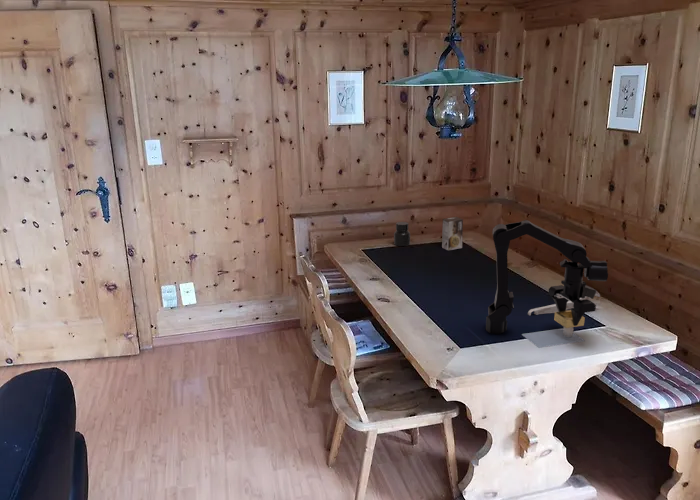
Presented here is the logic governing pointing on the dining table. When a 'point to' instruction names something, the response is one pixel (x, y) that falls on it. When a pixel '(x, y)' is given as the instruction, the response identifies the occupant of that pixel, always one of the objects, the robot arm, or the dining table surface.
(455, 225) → the coffee box
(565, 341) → the board
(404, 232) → the ink bottle
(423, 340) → the dining table surface
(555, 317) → the tan square tray
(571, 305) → the wrench
